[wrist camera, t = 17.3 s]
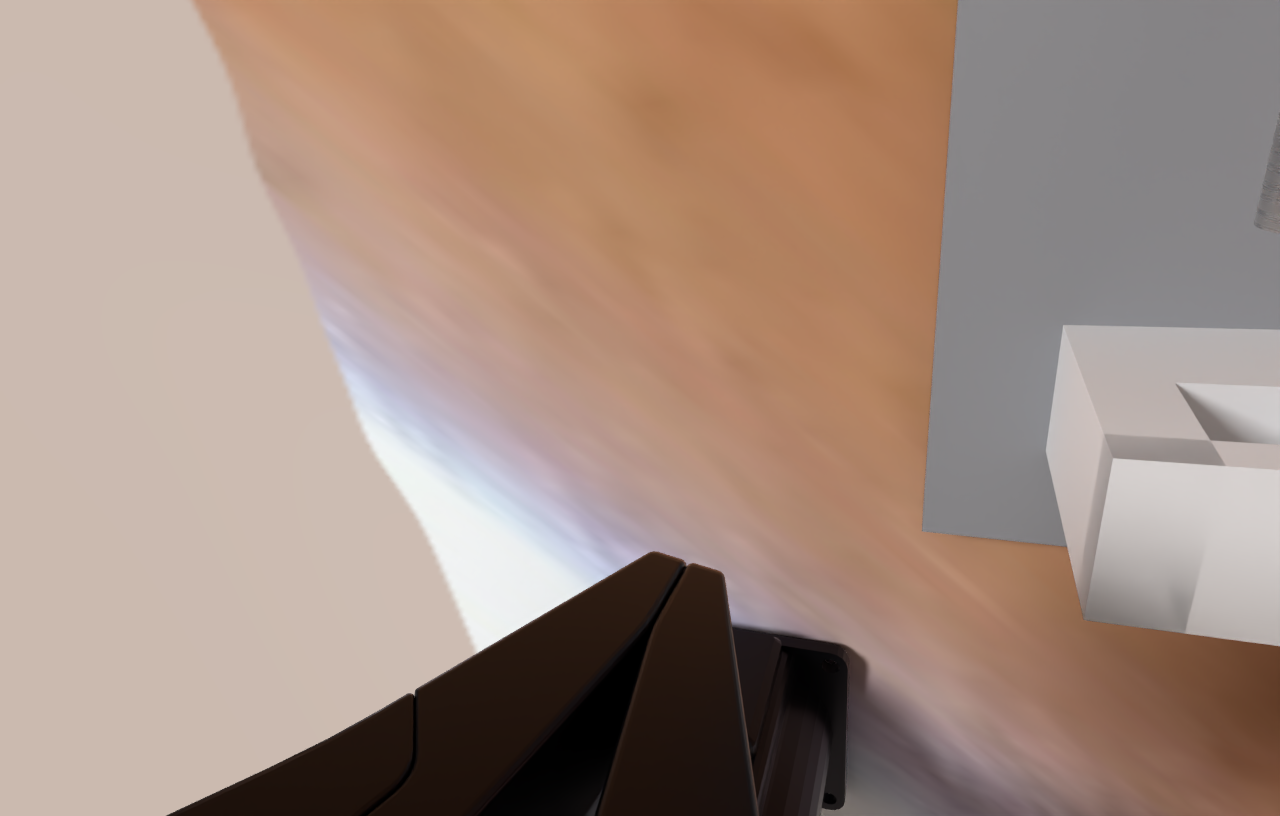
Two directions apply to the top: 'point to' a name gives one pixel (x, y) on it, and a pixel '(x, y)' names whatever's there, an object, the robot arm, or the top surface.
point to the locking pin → (1271, 190)
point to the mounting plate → (1115, 304)
